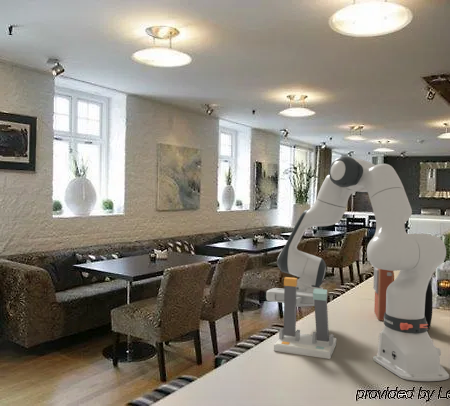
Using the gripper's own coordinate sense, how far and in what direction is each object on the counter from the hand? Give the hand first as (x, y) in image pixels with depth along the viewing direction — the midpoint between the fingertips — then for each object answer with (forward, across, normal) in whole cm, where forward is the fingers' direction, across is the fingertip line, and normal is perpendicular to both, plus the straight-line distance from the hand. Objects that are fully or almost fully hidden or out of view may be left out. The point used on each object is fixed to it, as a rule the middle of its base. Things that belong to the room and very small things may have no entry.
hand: (290, 302), depth 152 cm
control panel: (-49, +28, +14) cm, 58 cm away
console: (+1, +6, +14) cm, 15 cm away
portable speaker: (-35, +41, +14) cm, 56 cm away
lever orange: (+1, 0, +11) cm, 11 cm away
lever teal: (+1, +11, +11) cm, 15 cm away
